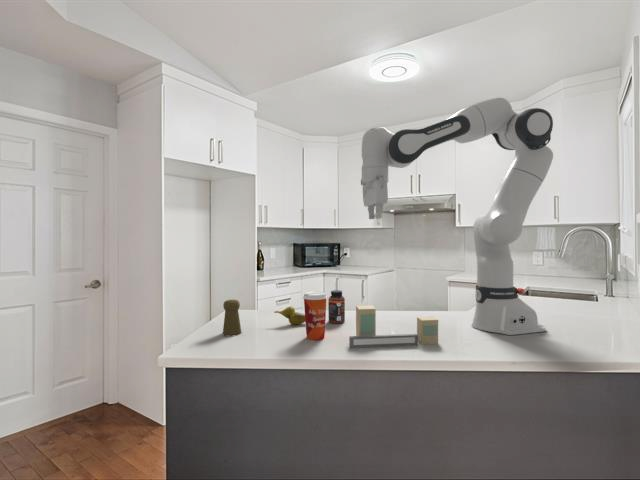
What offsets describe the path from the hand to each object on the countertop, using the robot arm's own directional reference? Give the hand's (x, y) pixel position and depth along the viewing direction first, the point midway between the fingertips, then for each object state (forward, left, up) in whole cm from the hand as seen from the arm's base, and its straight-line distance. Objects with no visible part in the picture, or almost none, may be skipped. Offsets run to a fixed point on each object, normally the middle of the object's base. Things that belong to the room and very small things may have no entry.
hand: (375, 218), depth 125 cm
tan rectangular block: (+6, +12, -37) cm, 39 cm away
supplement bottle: (+12, -10, -37) cm, 40 cm away
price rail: (+2, +18, -37) cm, 41 cm away
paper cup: (+21, +8, -37) cm, 43 cm away
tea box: (-12, +16, -37) cm, 42 cm away
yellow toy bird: (+27, -8, -37) cm, 47 cm away
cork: (+48, 0, -37) cm, 61 cm away
